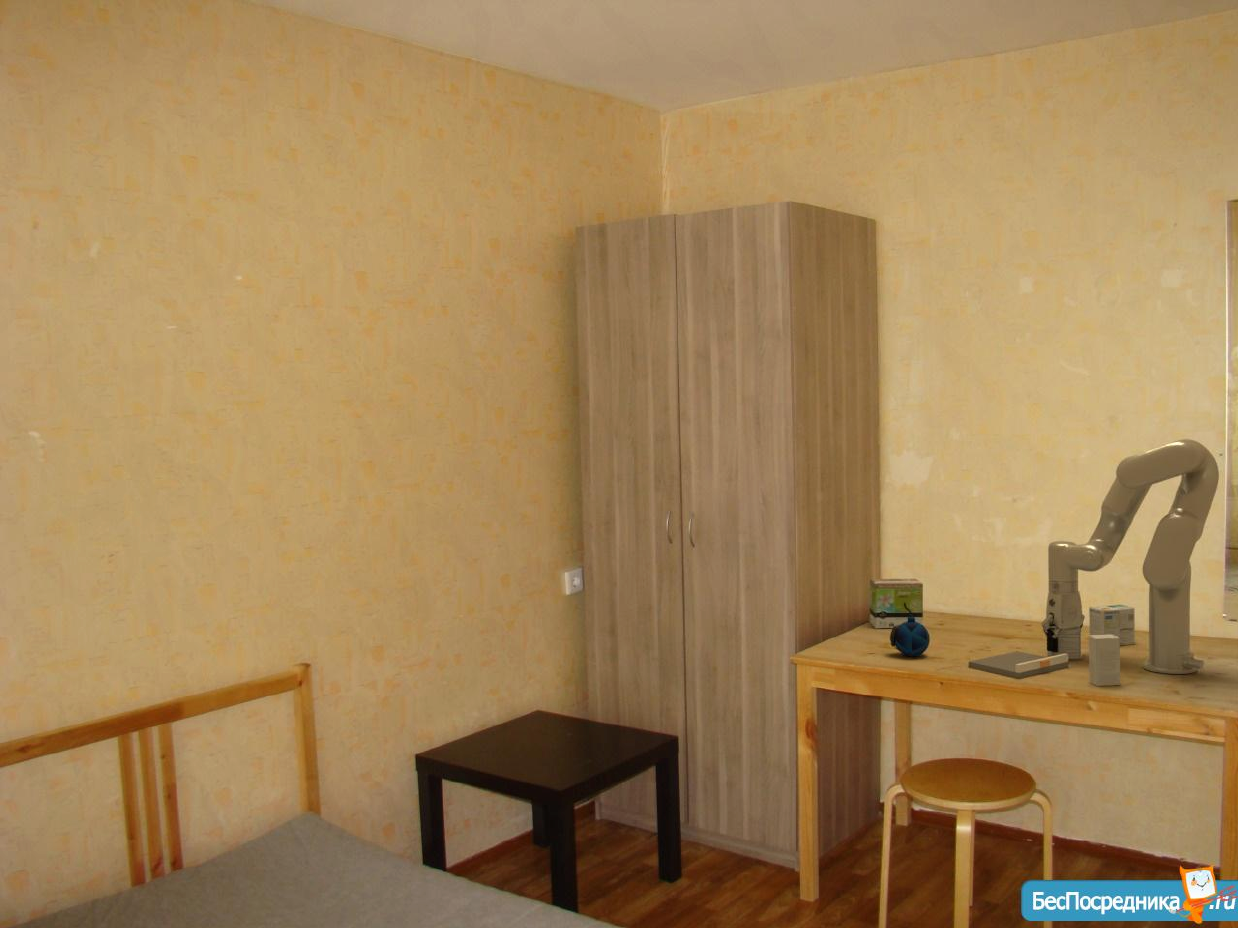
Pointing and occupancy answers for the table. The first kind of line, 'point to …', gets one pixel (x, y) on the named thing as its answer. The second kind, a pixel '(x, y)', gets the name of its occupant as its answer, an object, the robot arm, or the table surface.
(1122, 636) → the light bulb box
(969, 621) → the table surface
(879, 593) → the tea box
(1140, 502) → the robot arm
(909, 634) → the bomb
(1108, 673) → the skincare box
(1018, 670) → the shelf board
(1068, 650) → the medicine box
